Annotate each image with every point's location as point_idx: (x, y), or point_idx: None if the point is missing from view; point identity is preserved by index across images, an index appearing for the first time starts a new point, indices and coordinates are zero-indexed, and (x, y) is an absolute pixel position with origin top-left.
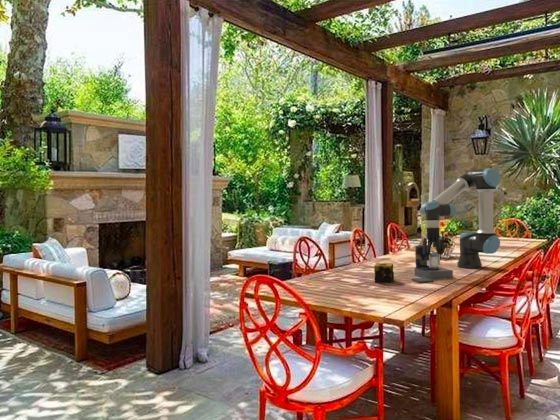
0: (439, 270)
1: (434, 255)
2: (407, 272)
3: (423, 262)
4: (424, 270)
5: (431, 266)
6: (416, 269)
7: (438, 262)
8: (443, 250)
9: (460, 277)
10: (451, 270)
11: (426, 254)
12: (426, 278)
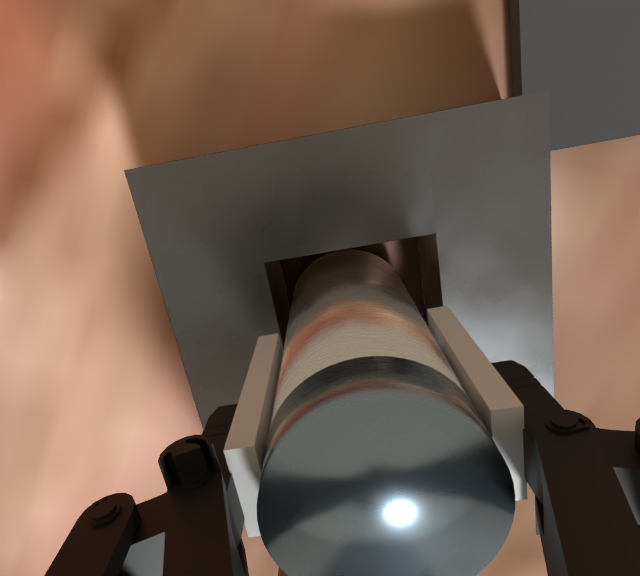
0: (319, 205)
1: (401, 371)
2: (508, 544)
3: None
4: (526, 254)
5: (413, 304)
6: None
7: (283, 352)
8: (73, 554)
9: (65, 176)
10: (145, 167)
11: (604, 433)
12: (545, 80)
